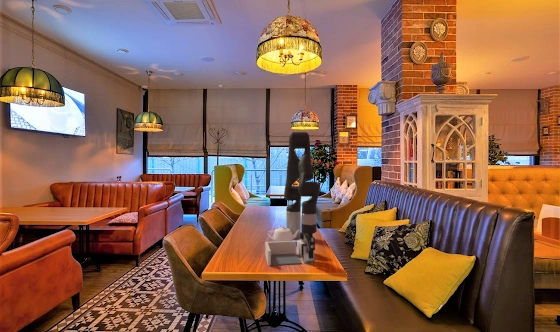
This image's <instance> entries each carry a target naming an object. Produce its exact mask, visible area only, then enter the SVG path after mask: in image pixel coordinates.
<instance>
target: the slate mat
mask: <svg viewBox="0 0 560 332" xmlns="http://www.w3.org/2000/svg"><path fill="white" fill-rule="evenodd" d="M298 256H299V255H297V253H296V254H273V255H271V266H287V265H288V266H290V265H291V266H292V265H302V260H300V258H299V257H298Z"/></svg>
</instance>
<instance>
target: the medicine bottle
mask: <svg viewBox="0 0 560 332" xmlns="http://www.w3.org/2000/svg"><path fill="white" fill-rule="evenodd" d="M296 240H297V241H296V254H298V256H300V257H301V256H304V246H305V245H304V242H303V232H302V231H301V233H300V238H299V239H296Z"/></svg>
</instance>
